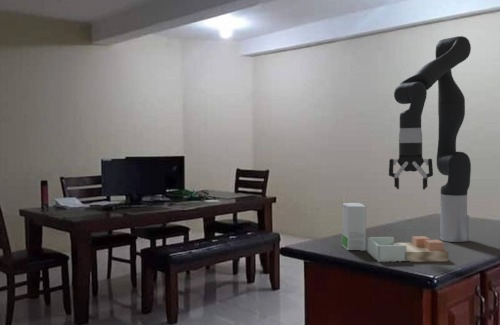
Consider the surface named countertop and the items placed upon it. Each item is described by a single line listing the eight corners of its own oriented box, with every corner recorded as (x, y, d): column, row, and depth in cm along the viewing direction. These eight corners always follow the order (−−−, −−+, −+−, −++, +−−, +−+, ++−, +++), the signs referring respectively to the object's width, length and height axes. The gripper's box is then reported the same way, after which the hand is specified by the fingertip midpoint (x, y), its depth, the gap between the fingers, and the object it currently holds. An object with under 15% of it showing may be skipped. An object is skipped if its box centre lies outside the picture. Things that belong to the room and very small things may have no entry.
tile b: (438, 247, 158) (438, 239, 158) (443, 250, 153) (443, 242, 153) (424, 247, 158) (424, 239, 158) (429, 250, 153) (429, 242, 153)
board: (431, 251, 166) (431, 242, 166) (448, 261, 152) (448, 251, 152) (393, 251, 166) (393, 242, 166) (406, 261, 152) (406, 252, 152)
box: (393, 251, 166) (393, 236, 165) (406, 261, 152) (406, 245, 151) (367, 251, 166) (367, 237, 165) (378, 262, 152) (378, 246, 151)
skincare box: (341, 246, 175) (341, 202, 175) (359, 245, 176) (359, 202, 175) (348, 251, 167) (348, 205, 166) (366, 250, 168) (366, 205, 167)
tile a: (425, 243, 164) (425, 236, 164) (430, 246, 159) (430, 238, 159) (411, 243, 164) (411, 236, 164) (416, 246, 159) (416, 238, 159)
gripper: (433, 141, 167) (433, 188, 168) (390, 141, 173) (390, 187, 173) (432, 141, 160) (432, 190, 161) (387, 142, 166) (388, 189, 166)
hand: (410, 189), depth 167 cm, fingers open, 8 cm apart
